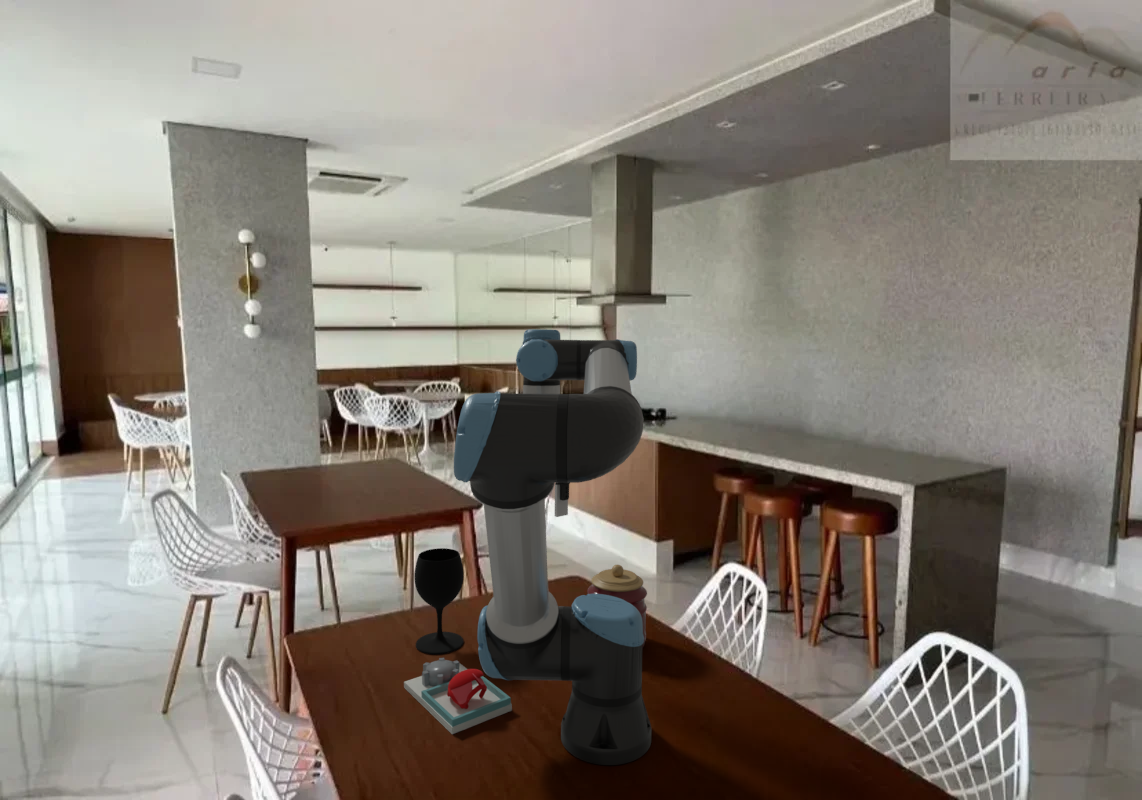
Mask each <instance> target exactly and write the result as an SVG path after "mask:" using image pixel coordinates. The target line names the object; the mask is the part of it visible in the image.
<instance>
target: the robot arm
mask: <svg viewBox="0 0 1142 800" xmlns="http://www.w3.org/2000/svg"><path fill="white" fill-rule="evenodd" d="M516 353H517V354H516V358H515V361H516V367H517V370H518V372H519V373H520V374H521V375H522V376H523V383H522V393H505V392H504V393H502V392H501V391H495V392H494V393H493V392H488V393H487V392H485V393H473V394H471V395H470V396H468V397H467V398H466V399H465V401H464V403H463V405H462V406H461V407H462V408H461V410H460V415H459V418H458V423H457V427H456V434H455V436H456V437H455V443H454V453H453V475H454V477H455V479H456V480H457V481H460V482H463V483H468V482H469V483H470V484H469V485H470V491H471V494H472V496H473V497H474V498H475V499H476V501H478V502H479V503H480V504H482V505H483V509H484V510H483V511H484V518H485V519H484V520H485V521H484V522H485V527H486V528H485V529H486V537H487V546H488V556H489V558H488V559H489V565H490V575H491V586H492V594H493V595H492V598H490V601H489V603H488V605H485V606H483V608H482V609H481V610H480V613H479V616H478V623H477V633H476V634H477V643H478V649H477V651H478V652H477V653H478V657H479V658H478V659H479V662H480V666H481V668H482V669H481V670H483V671H482V672H483V673H485V674H486V676H488V677H490V678H492V679H502V680H505V681H513V680H515V681H517V680H518V681H561V682H562V681H566V682H571V684H572V685H571V694H570V696H569V700H568V702H567V707H566V711H565V713H564V714H563V717H562V720H561V724H560V740H561V743H562V745H563V747H564V748H565V750H566V751H568V753H569V754H571V755H572V756H574V758H576V759H579V760H581V761H584V762H586V763H588V764H589V763H590V764H594V765H602V766H619V765H624V764H627V763H632V762H633V761H636V760H639V759H640V758H641V757H643V756H645V754H646V753H647V752H648V750H649V749H650V747H651V746H652V745H651V743H652V724H651V722H650V718H649V715H648V711H647V708H646V704H645V700H644V698H643V695H642V694H643V693H642V692H643V689H642V686H643V682H642V681H643V648H642V644H643V643H644V636H643V626H642V617H641V614H640V612H639V611H638V610H637V609H636V608H635V607H634V606H633V605H632V604H630V603H628V602H626V601H625V600H623V599H620V598H617V597H614V596H610V595H604V594H588V593H587V594H586V595H585V594H582V595H579V596H576V597H575V598H574V600H573V602H572V604H571V606H568V605H564V606H563V605H560V606H559V605H558V602H557V600H556V598H555V596H554V595H553V594H552V593H551V592H550V591H549V579H548V578H549V577H548V576H549V573H548V554H547V553H548V551H547V550H548V548H547V526H546V522H547V521H546V502H545V501H546V499H547V498H548V497H549V496H550V494H551V493H552V491H553V490H554V517H555V518H559V517H564V516H569V515H568V514H569V513H568V512H569V499H570V484H571V483H572V484H573V483H574V484H576V483H585V482H588V481H589V482H591V481H592V480H596V479H598V478H602V477H603V476H605V475H607V474H608V473H610V472H612V471H614V470H616V468H618V467H619V466H621V465H622V464H623V463H624V462H626V461H627V460H628V458H629V457H631V455H632V454H633V453H634V451H635V450H636V448H637V446H638V445H639V444H640V441H641V438H642V435H643V432H644V431H643V430H644V416H643V411H642V407H641V405H640V402H639V401H638V399H637V398H636V397H635V396H634V395H633V393H632V387H631V382H630V381H634V380H635V378H636V376H637V369H638V349H637V344H636V343H635V342H634V341H631V340H623V339H613V340H612V339H598V340H597V339H561V332H560V331H559V330H558V329H545V328H543V329H541V328H540V329H539V328H537V329H531V328H530V329H525V331H524V332H523V340H522V345H521V346H520V348H519V349H518V351H517V352H516ZM561 381H584V385H583V393H561Z"/></svg>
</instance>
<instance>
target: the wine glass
mask: <svg viewBox="0 0 1142 800" xmlns="http://www.w3.org/2000/svg"><path fill="white" fill-rule="evenodd" d="M413 576H414V586H415V588H416V592H417V593H418V595H419V597H420V598H421V599H422V600H423V602H425V603H426V604H428V605H429V606H430V607H432V608H434V609H435V611H436V621H437V628H436V632H431V633H427V634H424V635H422V636H420V637H419V638H418V639H417V640H416V642H415V648H416V650H418V651H419V653H422V654H426V655H431V656H432V655H433V656H434V655H436V656H437V655H439V656H440V655H447V654H450V653H453V652H456V651H458V650H459V649H461V648H462V647H463V646H464V641H465V640H464V638H463V636H462V635H460V634H458V633H456V632H452V631H443V612H444V608H445V607H447V606H448V605H450V603H452V602H453V601H454V600H455V599H456V597H458V595H459V593H460V591H462V587H463V583H464V578H465V577H464V565H463V561H462V558H461V555H460V551H458V550H456V549H452V548H447V547H446V548H445V547H443V548H441V547H440V548H431V549H426V550H424V551H421V552H420V553H419V554H418V556H417V560H416V564H415V568H414V575H413Z"/></svg>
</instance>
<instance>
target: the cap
mask: <svg viewBox="0 0 1142 800" xmlns="http://www.w3.org/2000/svg"><path fill="white" fill-rule="evenodd" d="M482 676H483V677H484V676H485V674H484V671H482V670H480V669H477V668H467V670H464V671H461V672H459V673H458V674H456V675H455V676H454V677H453V678H452V679H451V680H450V682H449V685H448V693H447V696H448V697H451V699H452V700H453V701H454V702H455V703H456V704H457V705H459V706H460V708H462V709H463V708H465V709H467V708H468V707H469V706H468V702H469V701H470V699H471V698H472V697H473V696H474V695H475V694H476V693H477V692H478V691H480V690H481V689H482V690H481V692H480V694H479V697H480V698H483V696H484V694H485V692H486V690H487V686H486V685H485V684H484V682H483V680H482V678H481V677H482ZM474 680H476V681H477V683H478V684H479V685H478V686H476V687H475V688H474V689H473V690H472V681H474Z"/></svg>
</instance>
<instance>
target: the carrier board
mask: <svg viewBox="0 0 1142 800" xmlns="http://www.w3.org/2000/svg"><path fill="white" fill-rule="evenodd" d="M467 669H468V668H467V667H465V666H464V665H463V664H461V663H460V661H458V659H457V660H454V661H452V660H448V659H445V657H439V658H438V660H434V661H431V662H427V661H426V662H425V663H423V664H422V671H421V675H420V676H417V677H414V678H411V679H408V680H405V681H403V688H404V689H405V690H406V691H407V693H409V694H410V695H411V696H412V697H413V698H414V699H415V700H416V701H417V702H418V703H420V705H421V706H422V707H423V708H425V710H427V712H429V714H431V716H433V717H434V719H436V720H437V721H438V722H439V723H440V724H441V725H442V726H443V727H444V728H445V729H446V730H447V731H448V732H449V733H450V734H451V735H454V734H456V733H459V732H462V731H464V730H467V729H470V728H472V727H474V726H477V725H479V724H481V723H484V722H487V721H490V720H491V719H494V718H496V717H499V716H501V715H504V714H507V713H508V712H512V711H513V707H512V706H513V705H512V701H511V700H512V698H511V697H510V696H509V695H508V694H507V693H506V692H504V691H503V690H502V689H500V688H499V687H498V686H496V685H495V684H494V683H493V682H491V681H490V680H488V679H487V678H486V677H484V675H483V676H482V677H481V678H482V680H483V682H484V684H485V685H486V686H487V690H486V692H485V694H484V696H483V698H480V697H479V694H480V692H481V690H482V689H481V690H480V691H478V692H477V693H476V694H475V695H474V696H473V697H472V698H471V699H470V701H469V702H468V706H469V707H468V708H467V709H465V708H463V709H462V708H460V706H459V705H457V704H456V703H455V702H454V701H453V700H452V699H451V697H448V696H447V693H448V685H449V682H450V680H451V679H452V678H453V677H454V676H455V675H456V674H458V673H459V672H461V671H464V670H467ZM478 685H479V684H478V683H477V681H476V680H474V681H472V690H473V689H474V688H475V687H476V686H478Z"/></svg>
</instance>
